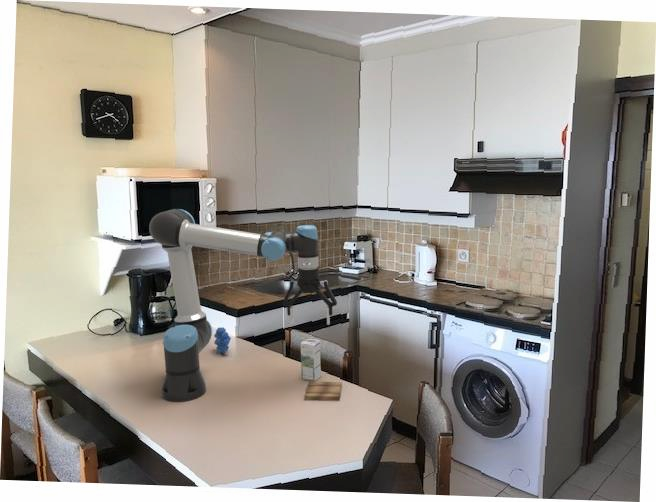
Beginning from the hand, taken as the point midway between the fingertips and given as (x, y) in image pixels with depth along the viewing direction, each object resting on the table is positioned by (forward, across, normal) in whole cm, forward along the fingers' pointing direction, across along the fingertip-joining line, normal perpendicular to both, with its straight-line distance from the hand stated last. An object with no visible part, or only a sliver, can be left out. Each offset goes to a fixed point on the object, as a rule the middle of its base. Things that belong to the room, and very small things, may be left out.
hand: (310, 323), depth 194 cm
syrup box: (+21, 0, 0) cm, 21 cm away
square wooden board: (+21, +6, -13) cm, 26 cm away
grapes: (+21, -41, +25) cm, 53 cm away
